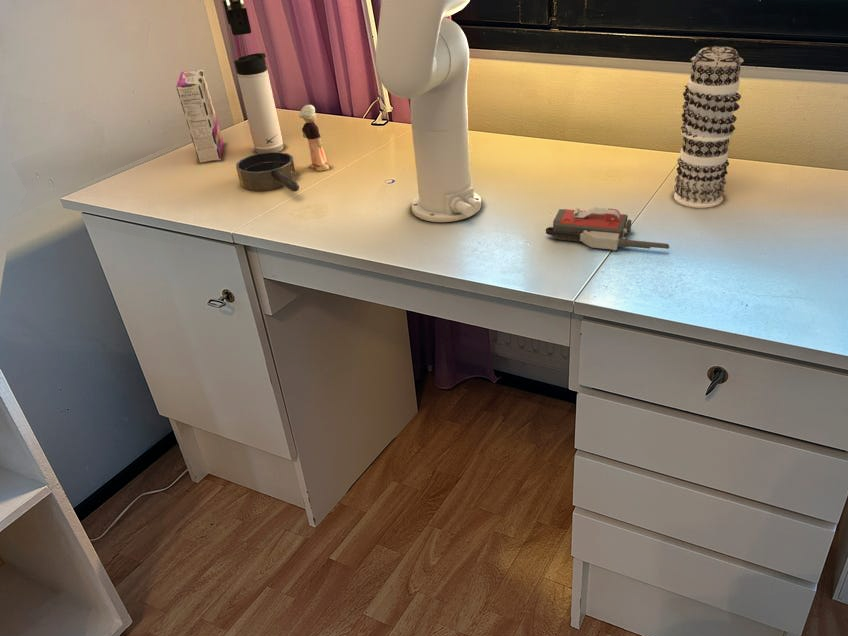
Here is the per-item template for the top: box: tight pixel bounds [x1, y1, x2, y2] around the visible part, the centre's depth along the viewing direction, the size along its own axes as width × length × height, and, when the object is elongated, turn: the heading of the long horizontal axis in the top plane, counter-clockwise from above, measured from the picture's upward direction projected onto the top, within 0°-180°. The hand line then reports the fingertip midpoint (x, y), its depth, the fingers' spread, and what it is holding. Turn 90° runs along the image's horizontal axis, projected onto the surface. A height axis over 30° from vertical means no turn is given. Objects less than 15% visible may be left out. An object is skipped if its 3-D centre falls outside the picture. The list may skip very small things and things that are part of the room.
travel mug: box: [234, 52, 285, 154], centre depth 156 cm, size 6×7×20 cm
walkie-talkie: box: [545, 206, 670, 251], centre depth 118 cm, size 9×4×20 cm
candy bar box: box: [175, 69, 224, 164], centre depth 156 cm, size 11×5×16 cm, turn 13°
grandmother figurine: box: [298, 104, 330, 172], centre depth 148 cm, size 8×4×13 cm, turn 47°
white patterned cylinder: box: [673, 45, 744, 209], centre depth 123 cm, size 9×9×25 cm
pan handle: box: [273, 170, 300, 193], centre depth 139 cm, size 10×2×2 cm, turn 36°
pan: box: [235, 151, 297, 192], centre depth 146 cm, size 11×11×4 cm
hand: (239, 28), depth 130 cm, fingers open, 9 cm apart
